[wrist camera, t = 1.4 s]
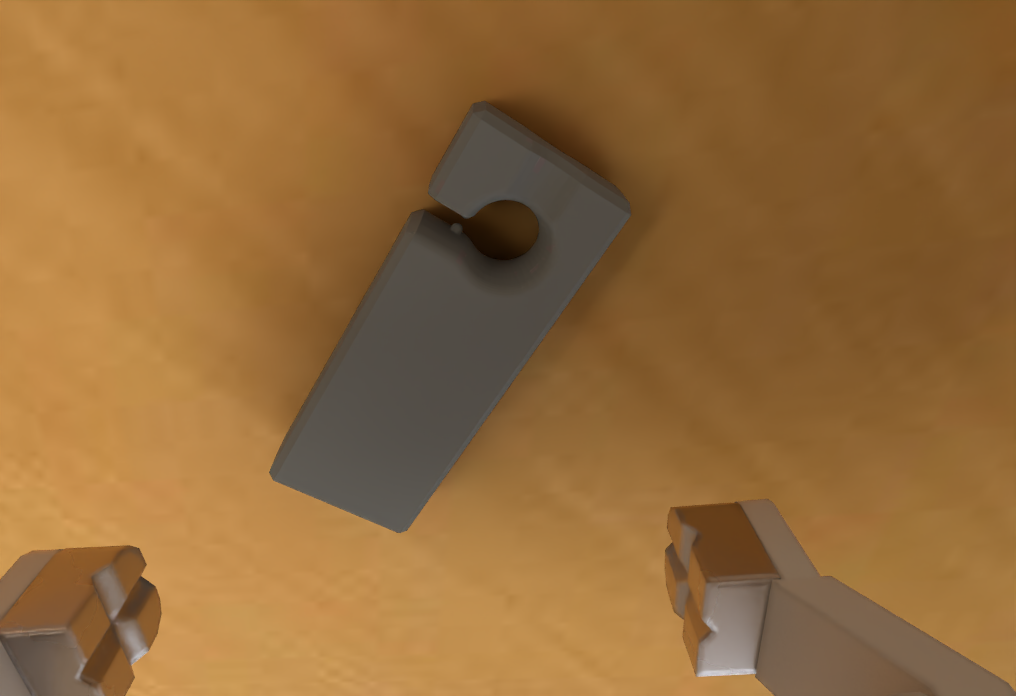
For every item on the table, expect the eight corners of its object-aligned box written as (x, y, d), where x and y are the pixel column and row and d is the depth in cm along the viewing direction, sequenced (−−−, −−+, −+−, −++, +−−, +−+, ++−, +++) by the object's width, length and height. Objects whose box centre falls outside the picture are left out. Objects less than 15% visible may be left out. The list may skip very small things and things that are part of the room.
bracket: (283, 436, 18) (262, 483, 16) (475, 92, 14) (476, 104, 12) (410, 492, 19) (404, 541, 17) (620, 186, 15) (640, 209, 13)
